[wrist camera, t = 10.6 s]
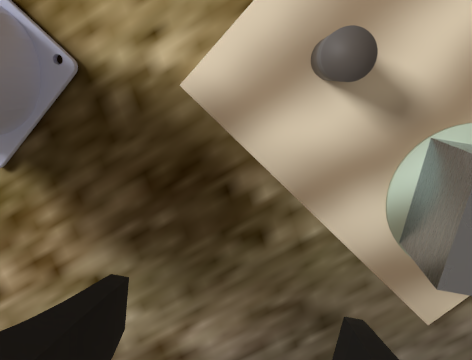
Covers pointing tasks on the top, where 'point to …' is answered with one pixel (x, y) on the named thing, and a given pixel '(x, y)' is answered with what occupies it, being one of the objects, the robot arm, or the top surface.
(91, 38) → the top surface
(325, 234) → the top surface
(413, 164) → the board
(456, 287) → the steel collar
